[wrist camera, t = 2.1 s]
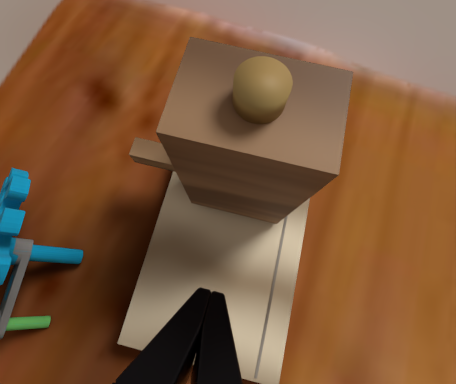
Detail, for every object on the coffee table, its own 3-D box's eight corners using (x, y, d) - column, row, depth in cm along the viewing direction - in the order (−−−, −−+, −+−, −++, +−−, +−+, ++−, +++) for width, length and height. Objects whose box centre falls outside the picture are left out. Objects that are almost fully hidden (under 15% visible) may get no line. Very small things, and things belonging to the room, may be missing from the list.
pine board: (271, 374, 17) (278, 388, 15) (128, 335, 18) (116, 343, 16) (322, 88, 24) (331, 71, 22) (214, 64, 24) (213, 46, 22)
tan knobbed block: (291, 227, 18) (389, 171, 7) (136, 189, 18) (18, 84, 8) (300, 173, 19) (399, 56, 8) (154, 139, 19) (72, -13, 9)
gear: (-4, 165, 19) (4, 162, 12) (82, 187, 23) (127, 195, 16) (-60, 319, 18) (-90, 423, 11) (41, 315, 22) (71, 388, 15)
